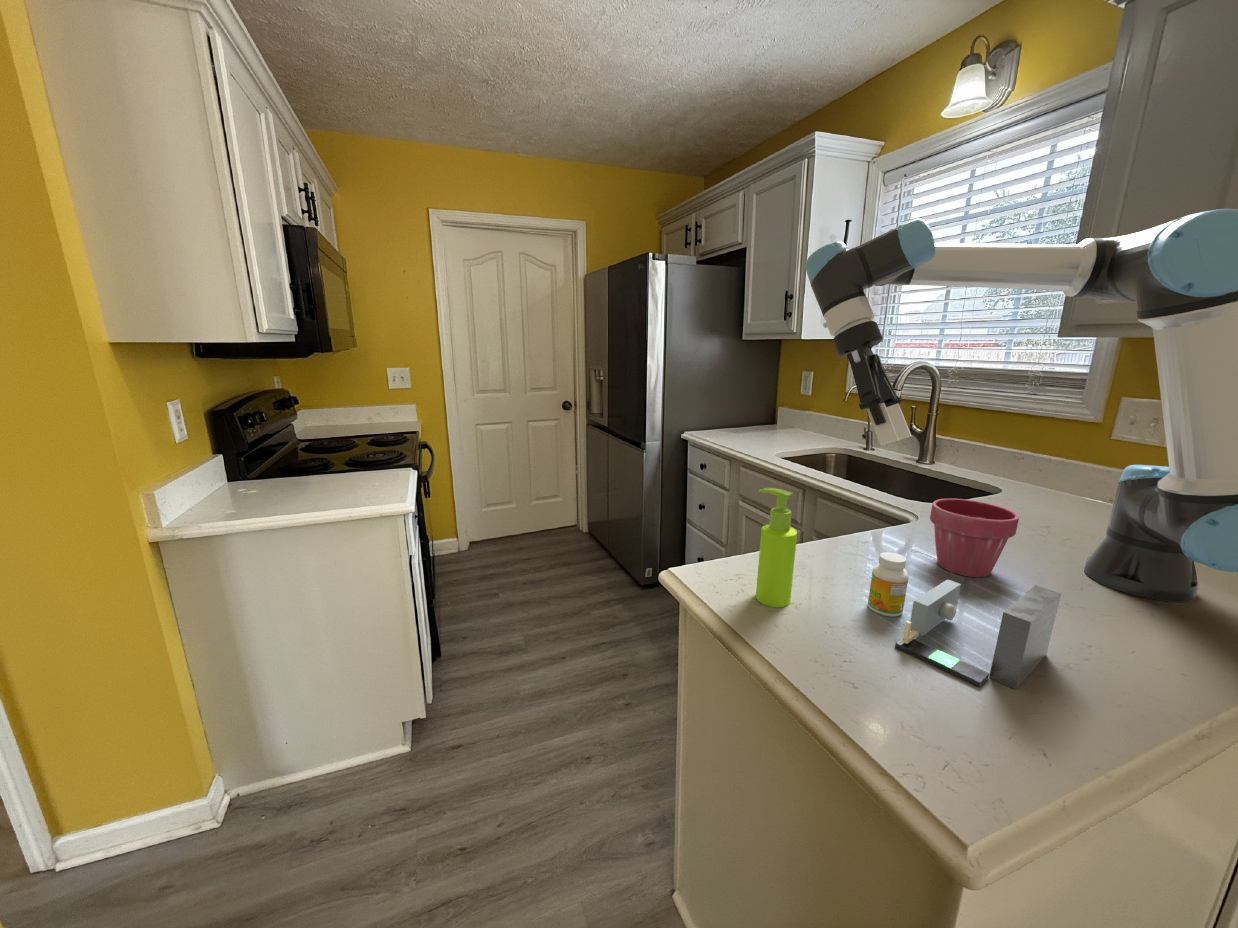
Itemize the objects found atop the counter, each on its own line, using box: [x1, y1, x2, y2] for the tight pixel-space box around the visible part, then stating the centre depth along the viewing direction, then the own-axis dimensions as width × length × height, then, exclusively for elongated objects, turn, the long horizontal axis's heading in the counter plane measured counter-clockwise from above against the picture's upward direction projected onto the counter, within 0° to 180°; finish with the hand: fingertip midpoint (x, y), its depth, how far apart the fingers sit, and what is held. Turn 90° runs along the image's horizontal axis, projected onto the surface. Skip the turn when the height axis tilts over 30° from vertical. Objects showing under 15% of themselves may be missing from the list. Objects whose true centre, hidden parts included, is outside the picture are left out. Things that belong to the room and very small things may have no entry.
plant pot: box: [929, 498, 1020, 578], centre depth 101 cm, size 14×14×13 cm
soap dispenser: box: [755, 487, 798, 608], centre depth 87 cm, size 6×7×20 cm
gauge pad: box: [901, 579, 962, 644], centre depth 78 cm, size 4×16×5 cm, turn 126°
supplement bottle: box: [867, 551, 909, 618], centre depth 85 cm, size 5×5×10 cm
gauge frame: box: [894, 584, 1062, 690], centre depth 73 cm, size 14×16×10 cm
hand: (897, 441), depth 87 cm, fingers open, 13 cm apart
